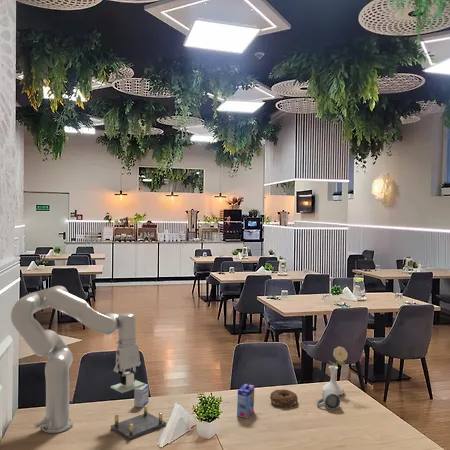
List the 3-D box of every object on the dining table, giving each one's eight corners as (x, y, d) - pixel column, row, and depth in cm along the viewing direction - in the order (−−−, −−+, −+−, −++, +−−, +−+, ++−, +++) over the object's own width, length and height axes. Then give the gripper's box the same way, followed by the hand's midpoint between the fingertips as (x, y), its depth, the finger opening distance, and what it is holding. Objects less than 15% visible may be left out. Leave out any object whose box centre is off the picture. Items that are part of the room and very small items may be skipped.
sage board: (122, 393, 188) (121, 379, 188) (110, 388, 194) (110, 375, 194) (144, 385, 197) (144, 372, 197) (133, 380, 203) (132, 368, 203)
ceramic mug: (336, 403, 218) (335, 387, 218) (340, 409, 210) (340, 393, 210) (314, 403, 218) (314, 388, 218) (318, 410, 210) (318, 394, 210)
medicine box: (142, 407, 211) (142, 389, 211) (133, 407, 212) (134, 389, 212) (148, 401, 219) (148, 384, 219) (140, 400, 220) (140, 383, 220)
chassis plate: (128, 440, 179) (128, 426, 179) (110, 428, 189) (110, 416, 189) (166, 425, 192) (166, 413, 192) (147, 415, 202) (147, 403, 202)
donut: (270, 396, 226) (270, 387, 226) (297, 398, 224) (297, 388, 224) (269, 408, 212) (269, 397, 212) (297, 410, 210) (298, 399, 210)
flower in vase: (322, 396, 226) (322, 348, 226) (321, 388, 237) (321, 342, 238) (348, 398, 224) (348, 349, 224) (346, 390, 235) (346, 343, 235)
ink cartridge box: (247, 418, 200) (248, 387, 200) (236, 416, 202) (236, 385, 202) (254, 410, 209) (254, 380, 209) (243, 408, 211) (244, 378, 211)
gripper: (115, 347, 187) (116, 390, 187) (147, 339, 199) (148, 379, 199) (106, 344, 192) (106, 386, 192) (137, 336, 204) (138, 376, 204)
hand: (127, 382), depth 195 cm, fingers closed on sage board, 4 cm apart
